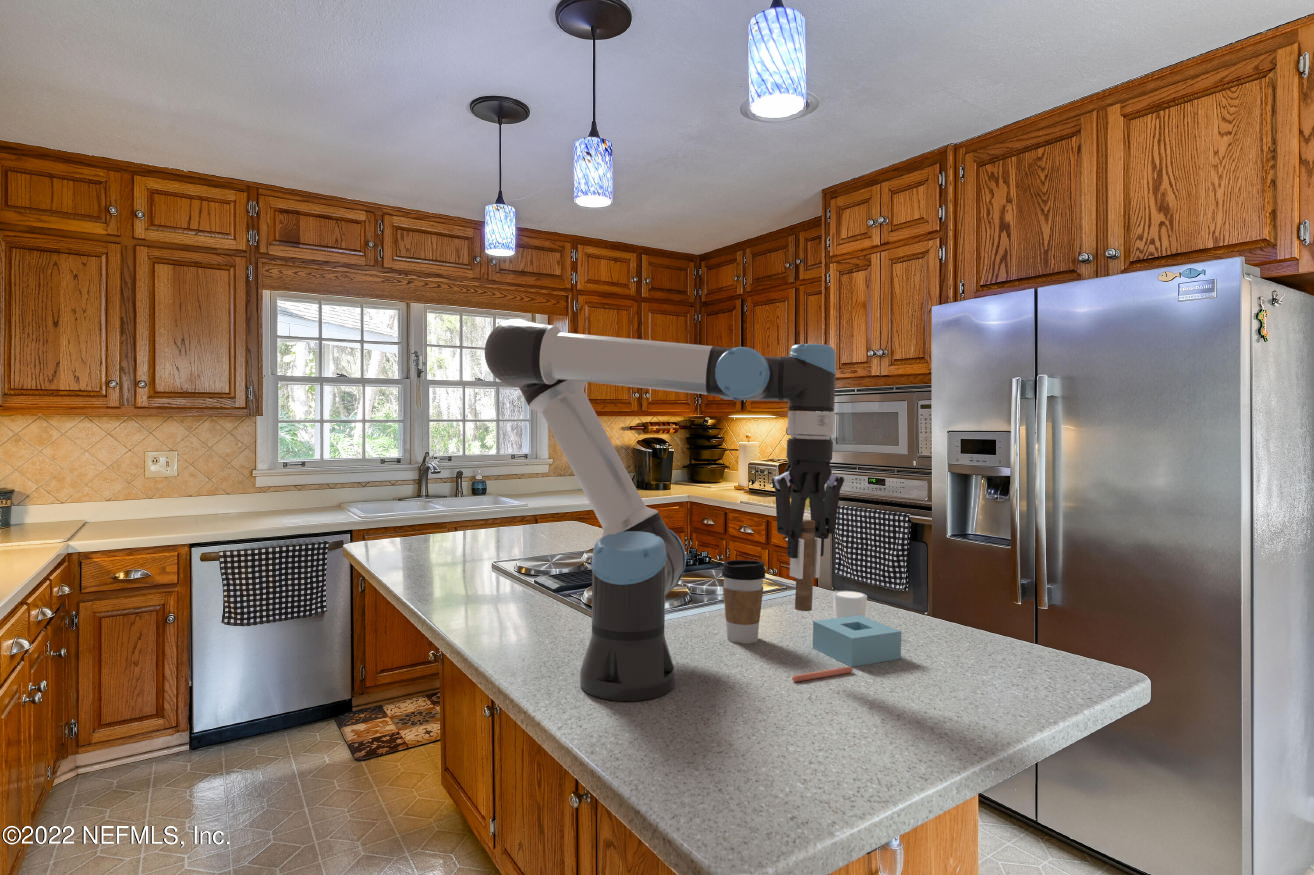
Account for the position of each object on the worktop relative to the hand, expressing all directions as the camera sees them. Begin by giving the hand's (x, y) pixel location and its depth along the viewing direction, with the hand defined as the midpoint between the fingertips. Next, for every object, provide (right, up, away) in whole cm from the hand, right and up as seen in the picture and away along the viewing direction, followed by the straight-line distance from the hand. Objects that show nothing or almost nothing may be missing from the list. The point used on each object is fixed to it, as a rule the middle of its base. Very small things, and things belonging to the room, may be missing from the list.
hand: (804, 576), depth 121 cm
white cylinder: (+14, -16, +25) cm, 33 cm away
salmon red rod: (+3, -16, -2) cm, 17 cm away
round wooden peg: (0, -6, 0) cm, 6 cm away
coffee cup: (-8, -16, +17) cm, 25 cm away
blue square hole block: (+11, -16, +10) cm, 22 cm away
